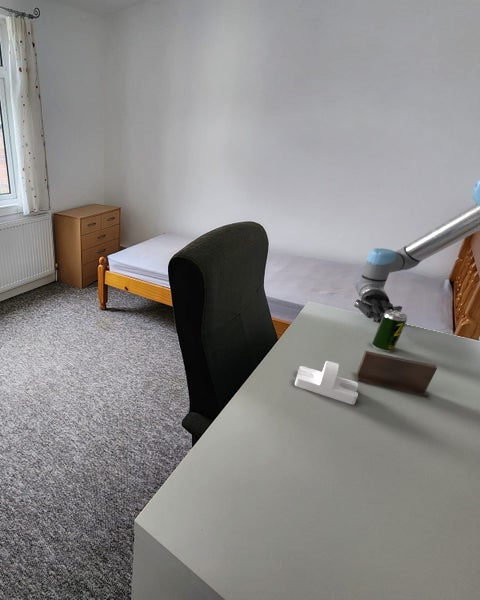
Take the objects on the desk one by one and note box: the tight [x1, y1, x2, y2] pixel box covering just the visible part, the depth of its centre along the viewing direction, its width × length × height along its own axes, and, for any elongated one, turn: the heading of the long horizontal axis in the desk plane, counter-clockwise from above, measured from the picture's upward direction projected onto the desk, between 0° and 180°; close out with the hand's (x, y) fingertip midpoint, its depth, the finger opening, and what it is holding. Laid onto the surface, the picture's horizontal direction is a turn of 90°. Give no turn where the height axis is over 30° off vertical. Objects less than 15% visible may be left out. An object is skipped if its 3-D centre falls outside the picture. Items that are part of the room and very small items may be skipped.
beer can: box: [372, 310, 408, 353], centre depth 103 cm, size 5×5×12 cm
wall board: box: [355, 350, 438, 398], centre depth 88 cm, size 14×3×8 cm, turn 60°
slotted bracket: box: [294, 360, 359, 405], centre depth 88 cm, size 13×7×8 cm, turn 53°
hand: (386, 326), depth 106 cm, fingers closed
